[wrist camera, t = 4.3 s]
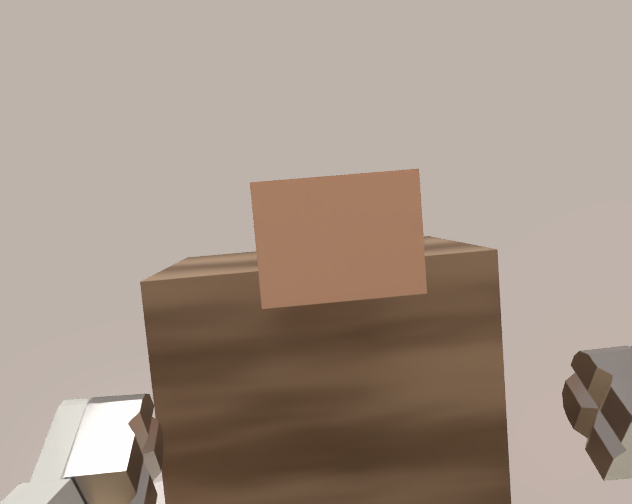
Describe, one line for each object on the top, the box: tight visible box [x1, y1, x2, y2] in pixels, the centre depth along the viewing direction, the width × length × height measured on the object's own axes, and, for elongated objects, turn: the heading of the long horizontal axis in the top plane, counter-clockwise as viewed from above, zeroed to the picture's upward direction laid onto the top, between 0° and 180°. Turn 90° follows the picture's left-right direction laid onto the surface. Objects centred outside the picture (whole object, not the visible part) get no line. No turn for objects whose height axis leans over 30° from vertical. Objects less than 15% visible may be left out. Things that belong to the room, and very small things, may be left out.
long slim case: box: [250, 169, 427, 309], centre depth 23 cm, size 20×4×3 cm, turn 3°
